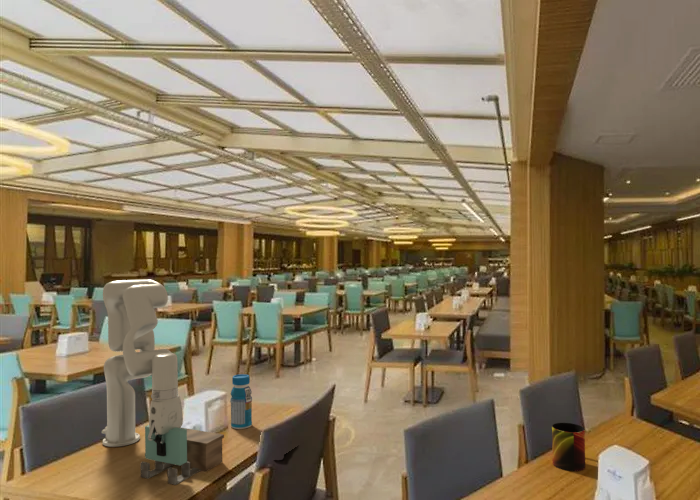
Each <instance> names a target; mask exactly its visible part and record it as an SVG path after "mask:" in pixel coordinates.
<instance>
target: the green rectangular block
mask: <svg viewBox="0 0 700 500" xmlns="http://www.w3.org/2000/svg"><path fill="white" fill-rule="evenodd" d="M183 428H184V427H181V428H177V427H176V428H173V429H171V430H169V432H168V433H166V434H165V438H164V443H166V456H158V455H157V443H155V441H154V440H153V439H149V438H148V435H149V432H150V431H149V424H148V425H145V426H144V430H145V431H144V439H145V441H144V447H145V448H144V449H145V453H144V455H145V456H144V457H145V458H144V459H146V460H149V461H150V460H151V461H154V462H155V461H160V462H165V463H170V464H175V465H174V466H177V465H182V464H184V463H186V462H187V429H188V428H187V429H183ZM160 436H161V435H159V437H160ZM165 463H164V464H165Z"/></svg>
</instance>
